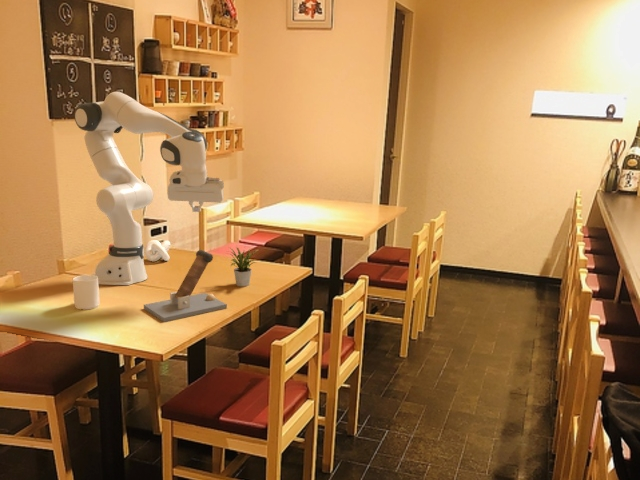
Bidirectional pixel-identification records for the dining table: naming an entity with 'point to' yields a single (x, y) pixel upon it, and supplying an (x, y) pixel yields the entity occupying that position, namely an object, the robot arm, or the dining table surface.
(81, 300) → the mug
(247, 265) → the house plant
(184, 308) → the press base
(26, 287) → the dining table surface
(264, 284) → the dining table surface
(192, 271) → the lever
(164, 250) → the white knot sculpture
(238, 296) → the dining table surface
